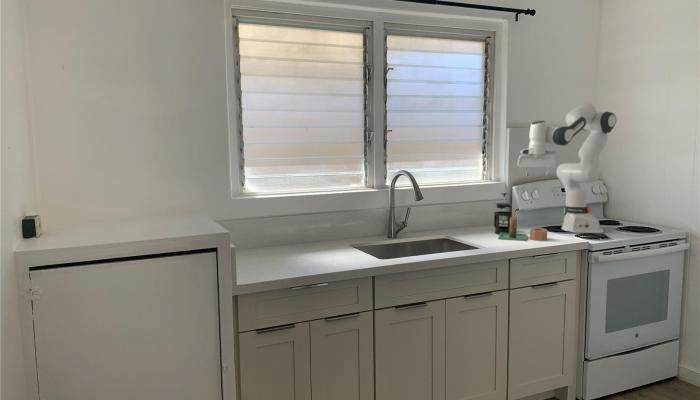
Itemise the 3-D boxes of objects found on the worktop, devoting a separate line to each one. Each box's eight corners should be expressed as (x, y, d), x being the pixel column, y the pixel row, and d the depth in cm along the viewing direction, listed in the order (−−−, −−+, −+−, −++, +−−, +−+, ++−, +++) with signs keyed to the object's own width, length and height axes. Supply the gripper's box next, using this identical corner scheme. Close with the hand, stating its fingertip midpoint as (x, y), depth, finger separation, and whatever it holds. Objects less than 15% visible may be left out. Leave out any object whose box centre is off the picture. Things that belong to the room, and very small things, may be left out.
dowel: (516, 237, 287) (517, 217, 286) (516, 238, 284) (516, 218, 282) (509, 236, 288) (510, 216, 287) (509, 238, 285) (509, 217, 284)
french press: (516, 234, 301) (517, 193, 298) (504, 235, 296) (505, 194, 293) (500, 230, 311) (502, 191, 308) (488, 232, 307) (490, 192, 304)
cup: (546, 239, 284) (547, 228, 283) (546, 243, 276) (547, 231, 276) (530, 238, 287) (530, 227, 286) (529, 242, 279) (530, 230, 278)
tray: (526, 237, 290) (527, 234, 290) (525, 242, 277) (526, 239, 277) (500, 236, 295) (500, 232, 295) (498, 241, 282) (498, 237, 282)
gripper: (557, 150, 289) (556, 176, 291) (518, 150, 296) (517, 175, 298) (557, 151, 284) (556, 177, 285) (517, 150, 291) (516, 176, 292)
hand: (536, 176), depth 292 cm, fingers open, 8 cm apart
